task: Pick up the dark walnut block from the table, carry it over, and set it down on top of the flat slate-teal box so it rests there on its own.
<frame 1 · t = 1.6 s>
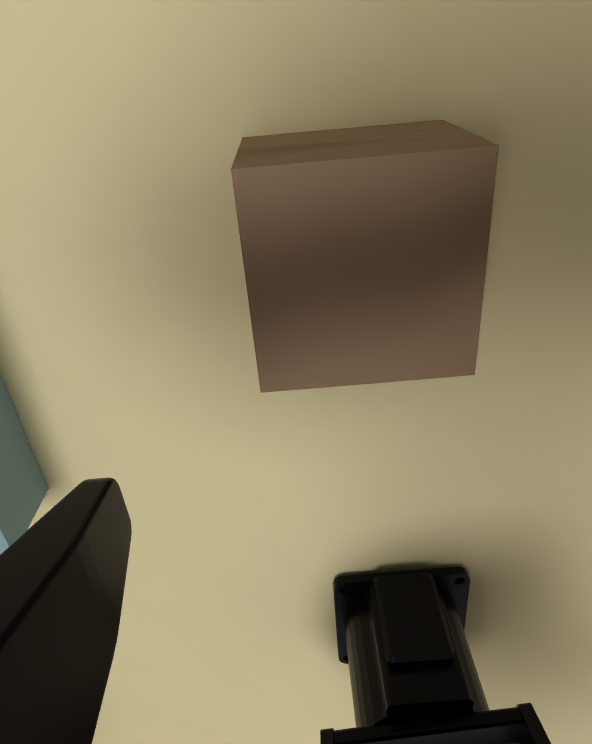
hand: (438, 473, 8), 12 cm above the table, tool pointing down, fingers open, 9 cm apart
walnut block: (344, 226, 18), on the table
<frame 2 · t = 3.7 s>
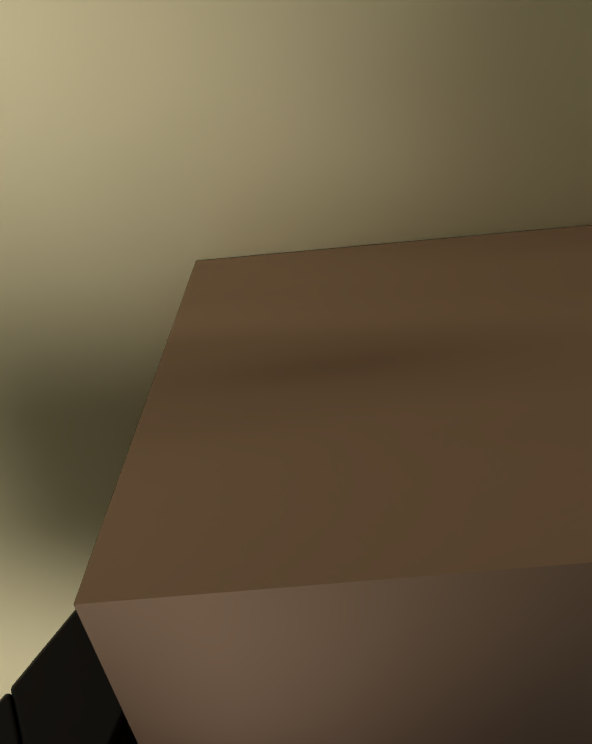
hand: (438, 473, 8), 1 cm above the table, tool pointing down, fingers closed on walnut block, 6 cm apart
walnut block: (421, 427, 9), on the table, touching gripper
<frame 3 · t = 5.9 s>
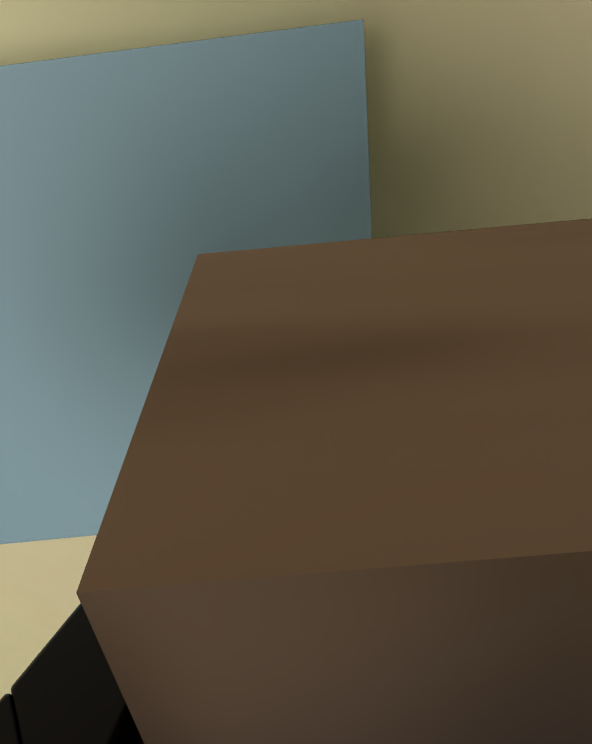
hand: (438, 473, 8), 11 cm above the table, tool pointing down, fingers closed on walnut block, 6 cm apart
teal base box: (152, 292, 19), on the table
walnut block: (424, 423, 9), point 10 cm above the table, touching gripper
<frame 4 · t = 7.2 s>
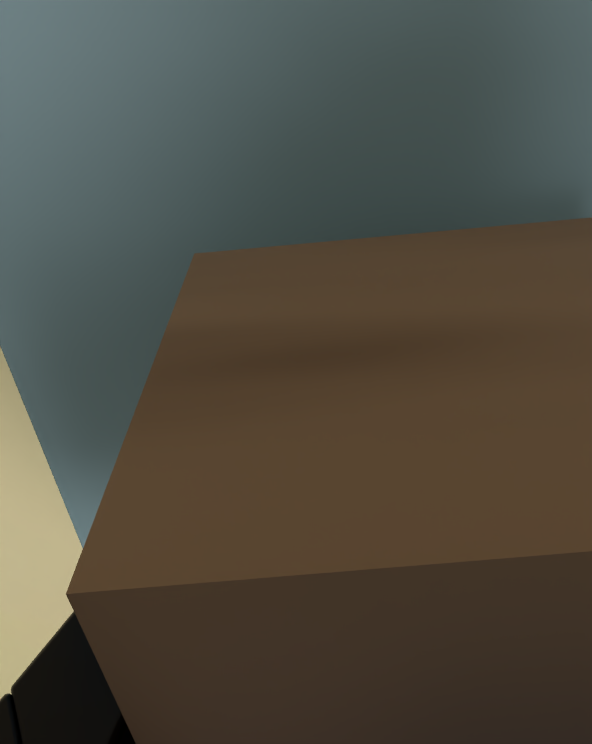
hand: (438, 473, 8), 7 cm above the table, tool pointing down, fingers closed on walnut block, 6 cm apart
teal base box: (363, 280, 14), on the table
walnut block: (422, 423, 8), point 5 cm above the table, touching gripper
when the fingers open (6 cm above the table, at t = 8.2 s): walnut block drops 1 cm, resting on teal base box.
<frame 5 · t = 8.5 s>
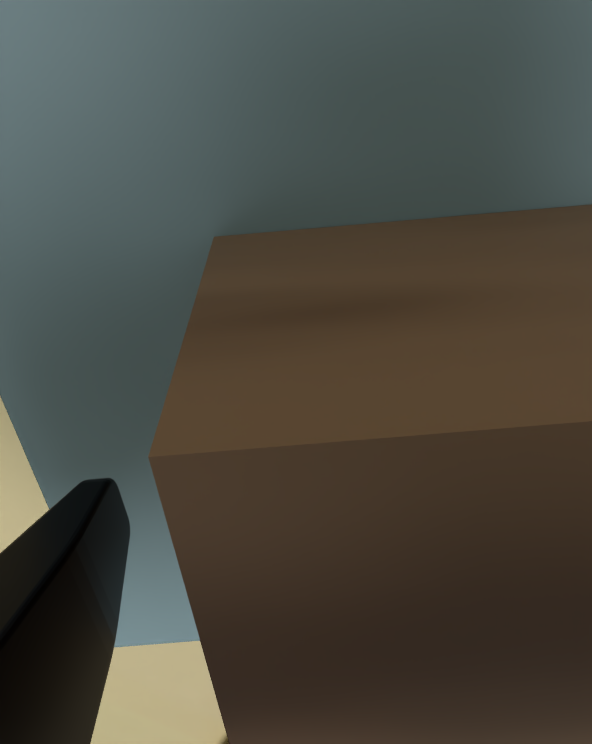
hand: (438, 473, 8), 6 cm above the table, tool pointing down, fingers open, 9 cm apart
teal base box: (369, 291, 13), on the table, touching walnut block
walnut block: (408, 387, 10), point 3 cm above the table, touching teal base box
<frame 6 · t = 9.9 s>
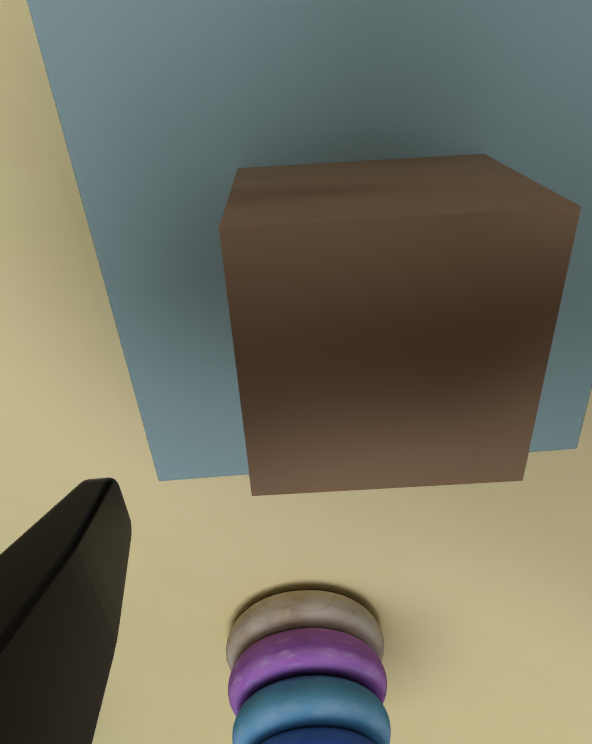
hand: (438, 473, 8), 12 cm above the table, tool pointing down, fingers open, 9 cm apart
stacking toy: (304, 627, 29), on the table
teal base box: (347, 223, 18), on the table
walnut block: (359, 277, 15), point 3 cm above the table
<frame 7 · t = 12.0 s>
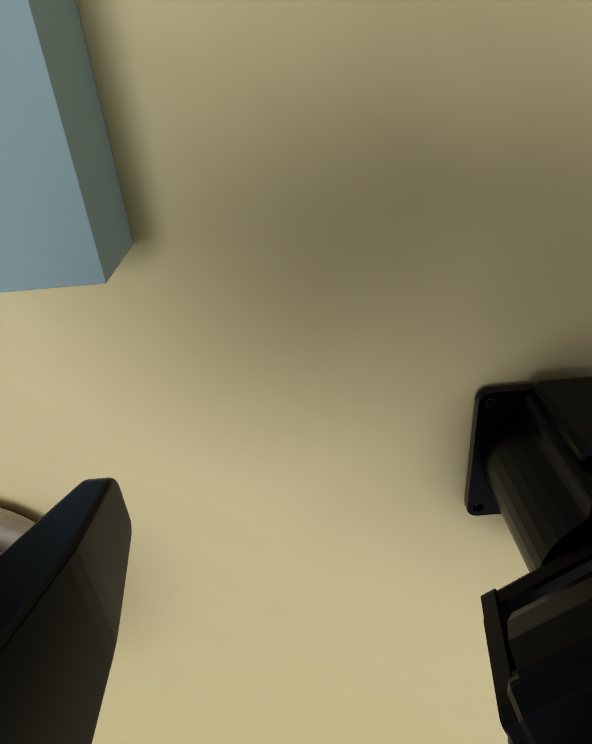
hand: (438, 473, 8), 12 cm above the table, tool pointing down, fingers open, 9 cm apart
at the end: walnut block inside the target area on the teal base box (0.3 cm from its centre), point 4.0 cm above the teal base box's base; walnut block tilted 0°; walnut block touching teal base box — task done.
